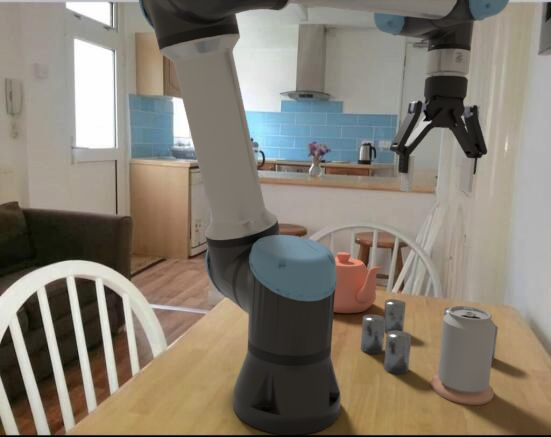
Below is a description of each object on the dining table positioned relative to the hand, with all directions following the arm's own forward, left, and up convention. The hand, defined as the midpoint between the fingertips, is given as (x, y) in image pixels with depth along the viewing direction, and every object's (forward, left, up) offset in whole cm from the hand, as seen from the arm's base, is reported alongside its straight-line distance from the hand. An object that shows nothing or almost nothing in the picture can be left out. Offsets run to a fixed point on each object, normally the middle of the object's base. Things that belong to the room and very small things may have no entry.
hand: (436, 191), depth 95 cm
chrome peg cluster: (-5, -5, -29) cm, 29 cm away
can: (-8, -21, -28) cm, 36 cm away
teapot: (-8, +19, -29) cm, 36 cm away
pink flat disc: (-8, -21, -29) cm, 36 cm away
